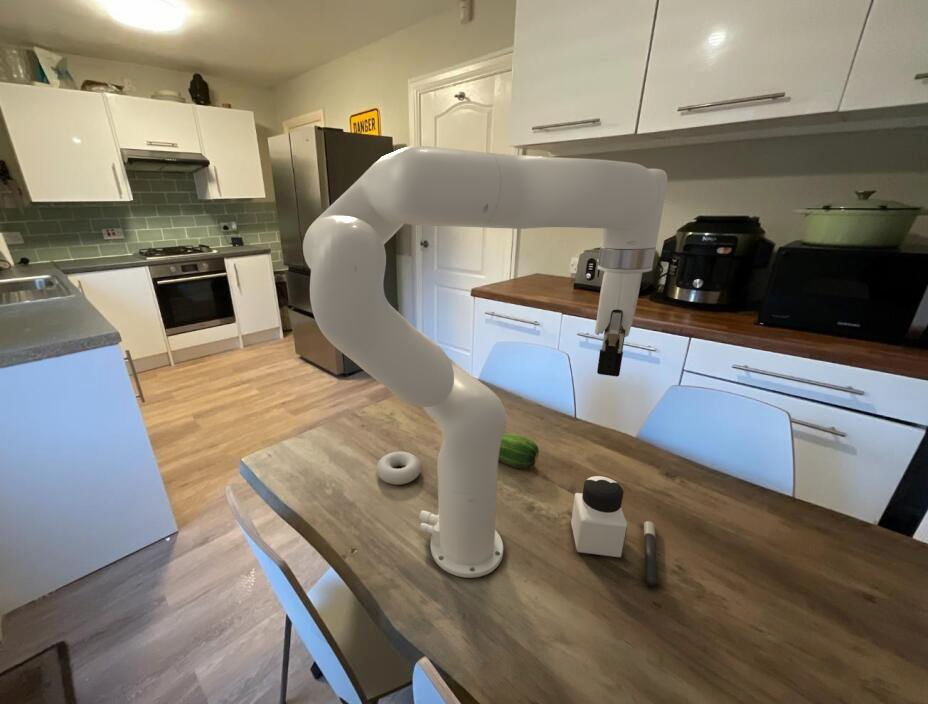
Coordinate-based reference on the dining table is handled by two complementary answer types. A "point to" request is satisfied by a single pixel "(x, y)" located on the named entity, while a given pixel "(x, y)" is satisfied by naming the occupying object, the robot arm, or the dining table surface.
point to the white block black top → (599, 518)
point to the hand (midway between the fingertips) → (609, 364)
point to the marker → (650, 554)
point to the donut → (398, 475)
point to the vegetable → (518, 451)
